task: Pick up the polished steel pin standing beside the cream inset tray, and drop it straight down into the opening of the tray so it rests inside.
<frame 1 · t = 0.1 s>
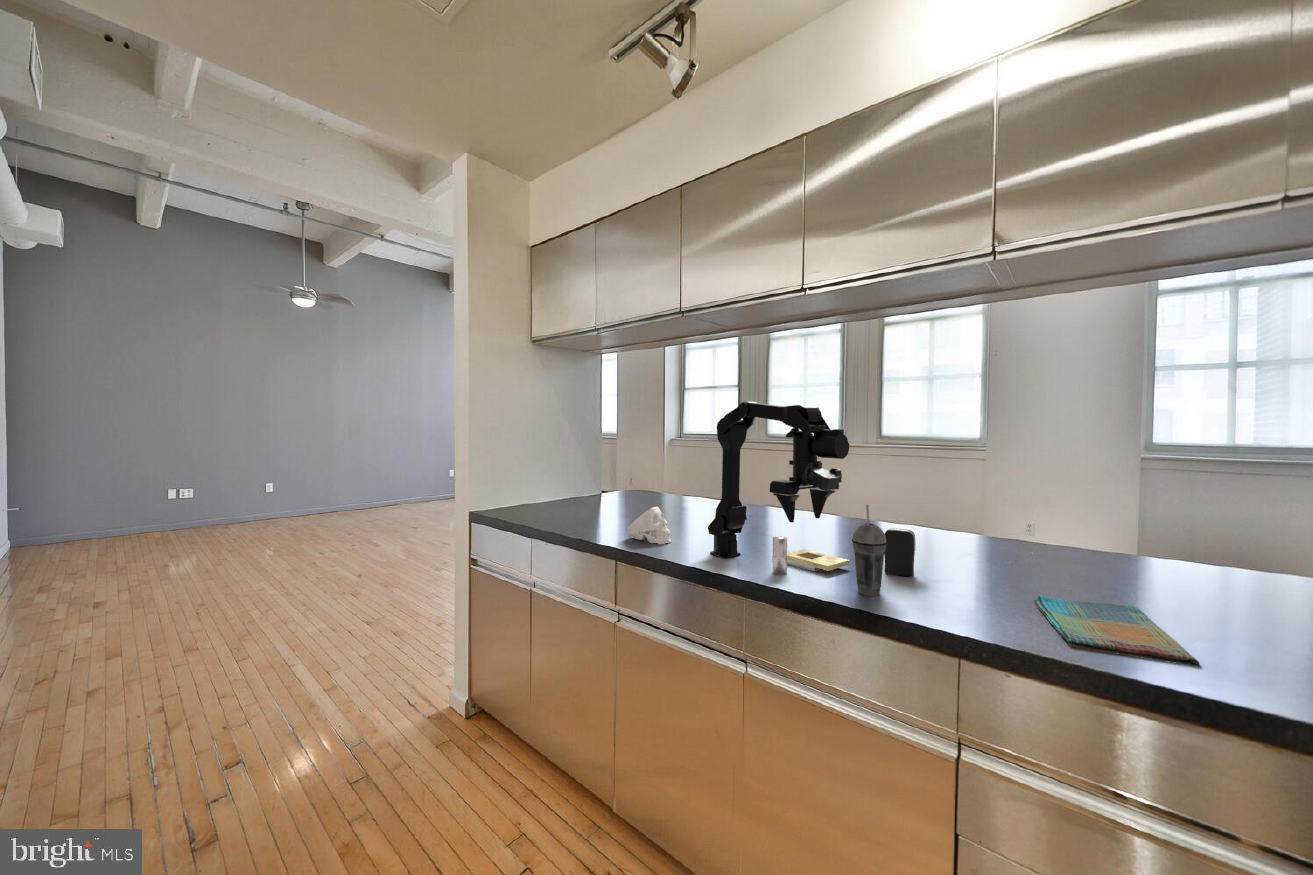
hand: (804, 520, 122), 14 cm above the worktop, tool pointing down, fingers open, 9 cm apart
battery: (899, 574, 126), on the worktop
beverage cup: (868, 593, 112), on the worktop
dish towel: (1104, 633, 92), on the worktop
skull bowl: (650, 541, 164), on the worktop
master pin: (779, 572, 128), on the worktop
cream inset tray: (809, 564, 135), on the worktop
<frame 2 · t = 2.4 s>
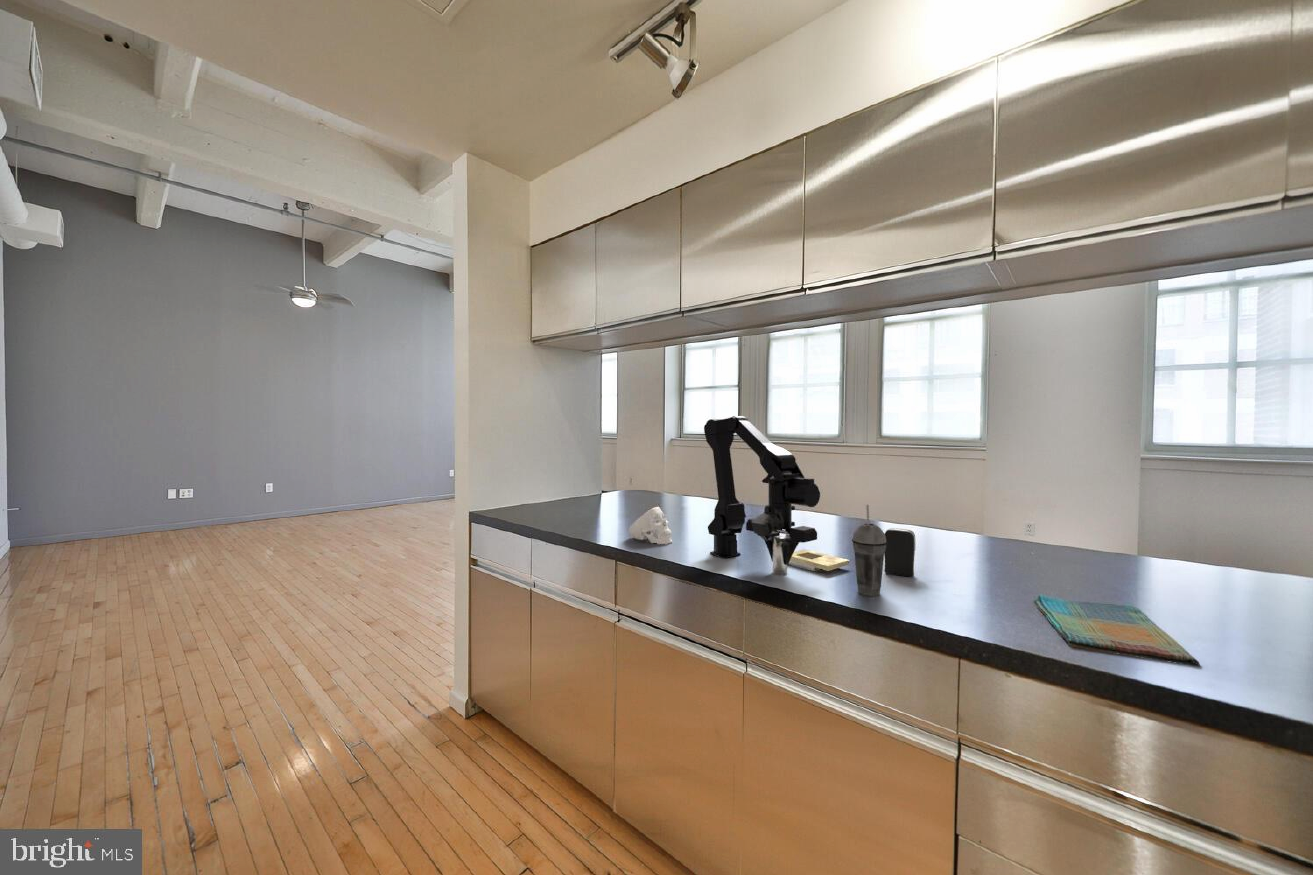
hand: (779, 562, 128), 3 cm above the worktop, tool pointing down, fingers closed on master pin, 4 cm apart
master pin: (779, 572, 128), on the worktop, touching gripper
everything else where it was.
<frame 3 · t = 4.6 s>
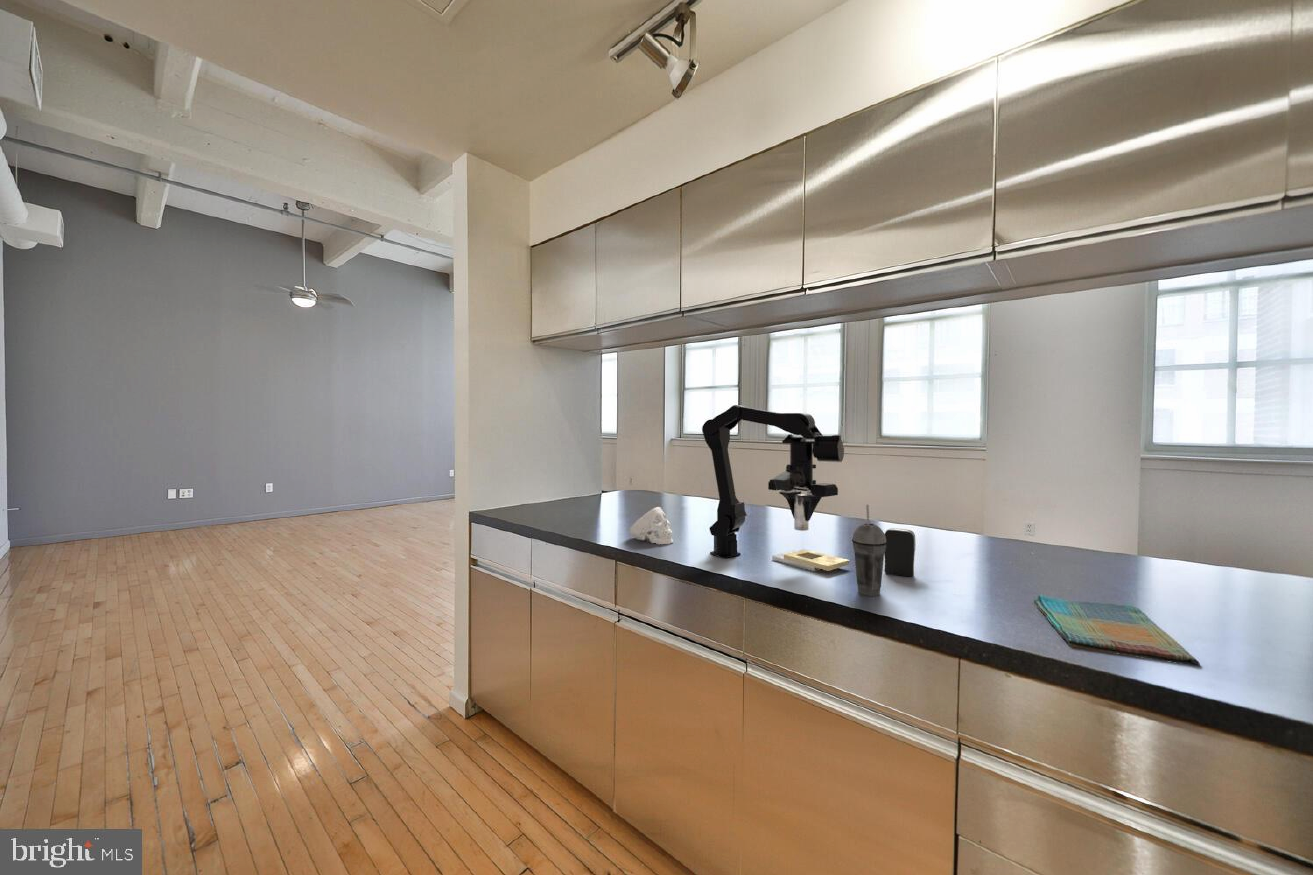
hand: (801, 519, 132), 13 cm above the worktop, tool pointing down, fingers closed on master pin, 4 cm apart
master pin: (801, 529, 132), point 10 cm above the worktop, touching gripper
everything else where it was.
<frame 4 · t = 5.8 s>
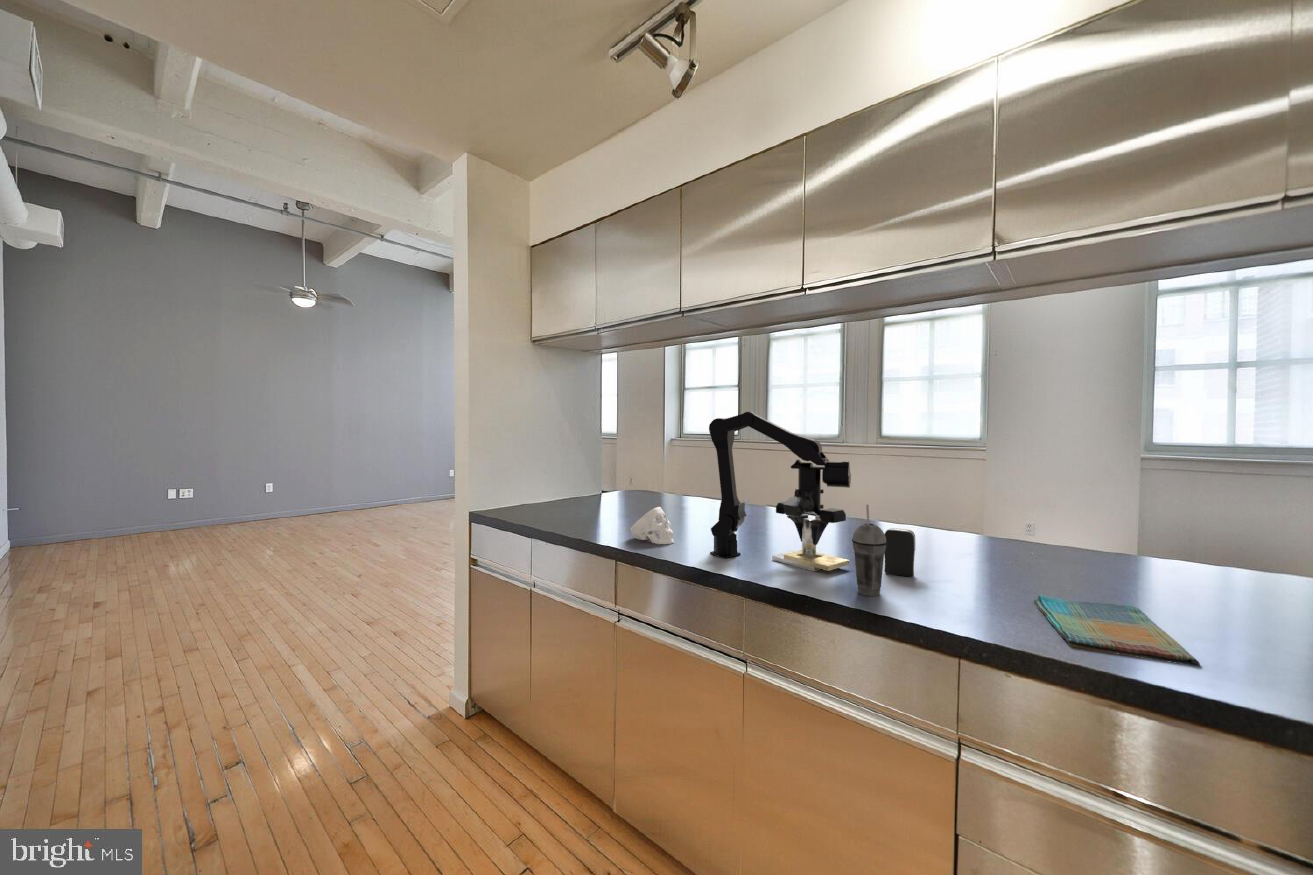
hand: (809, 543, 135), 6 cm above the worktop, tool pointing down, fingers closed on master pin, 4 cm apart
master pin: (809, 552, 135), point 3 cm above the worktop, touching gripper
when the fingers open (3 cm above the worktop, at t = 6.9 s): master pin stays where it is, resting in cream inset tray.
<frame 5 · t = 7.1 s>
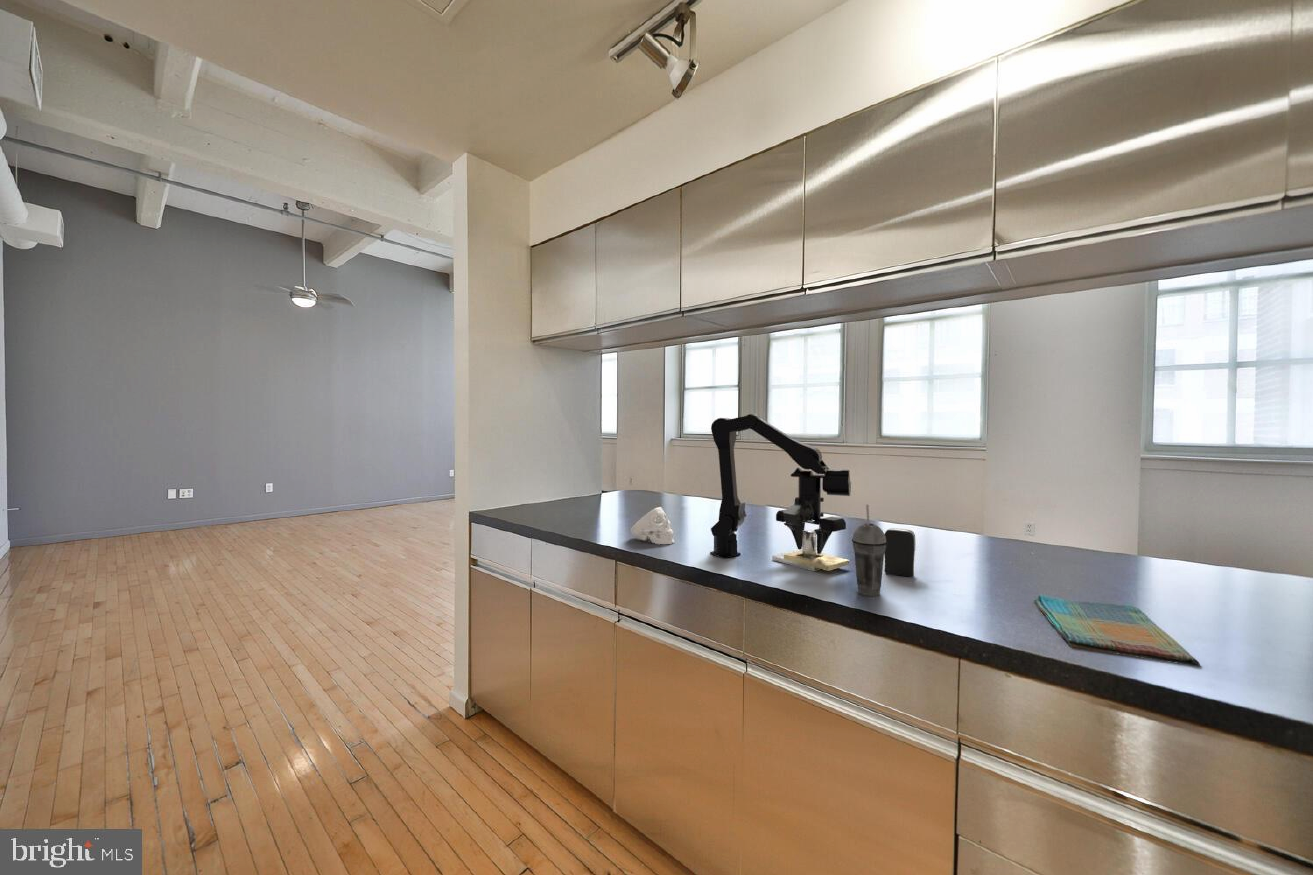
hand: (809, 551, 135), 3 cm above the worktop, tool pointing down, fingers open, 6 cm apart
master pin: (809, 564, 135), resting in cream inset tray
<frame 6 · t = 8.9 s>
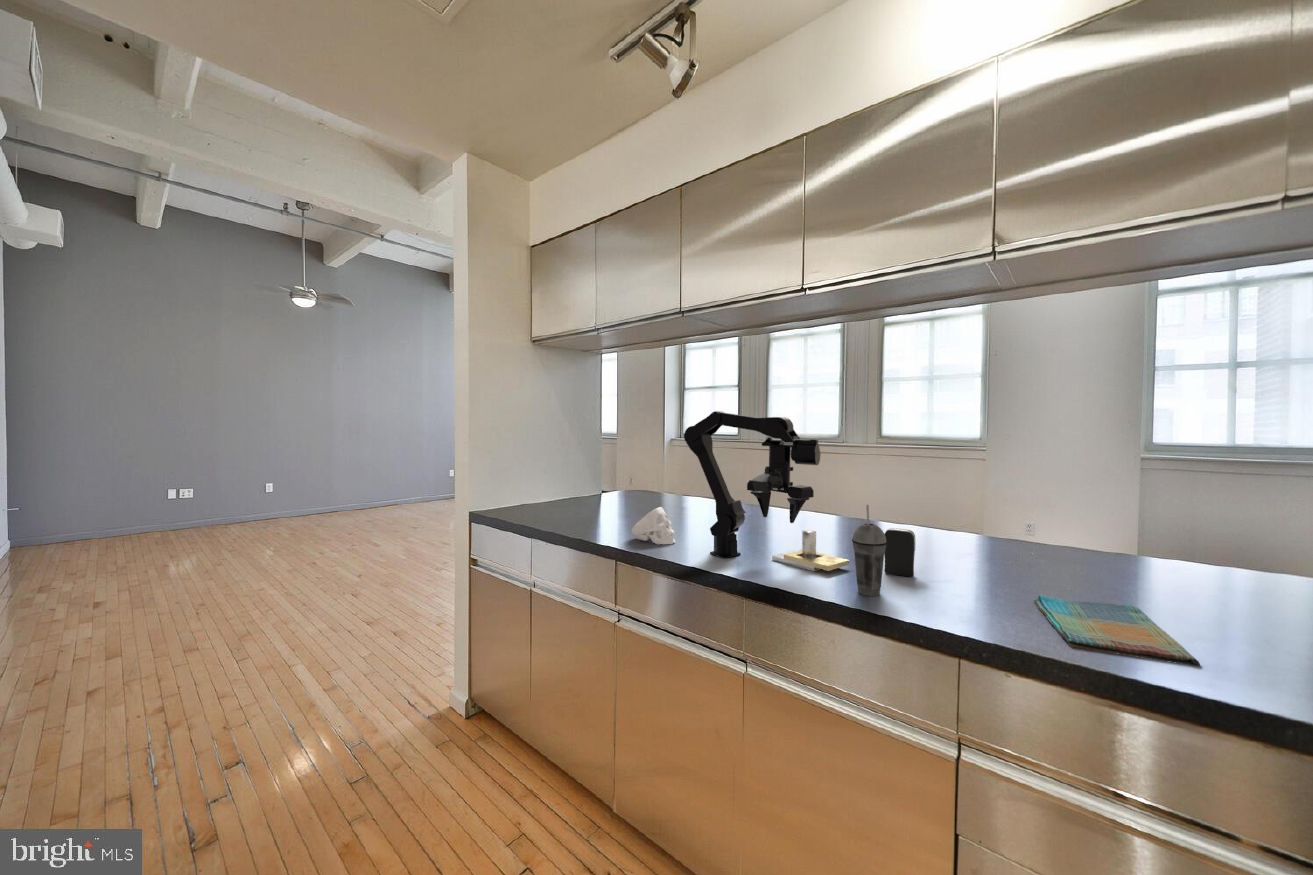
hand: (778, 519, 137), 12 cm above the worktop, tool pointing down, fingers open, 9 cm apart
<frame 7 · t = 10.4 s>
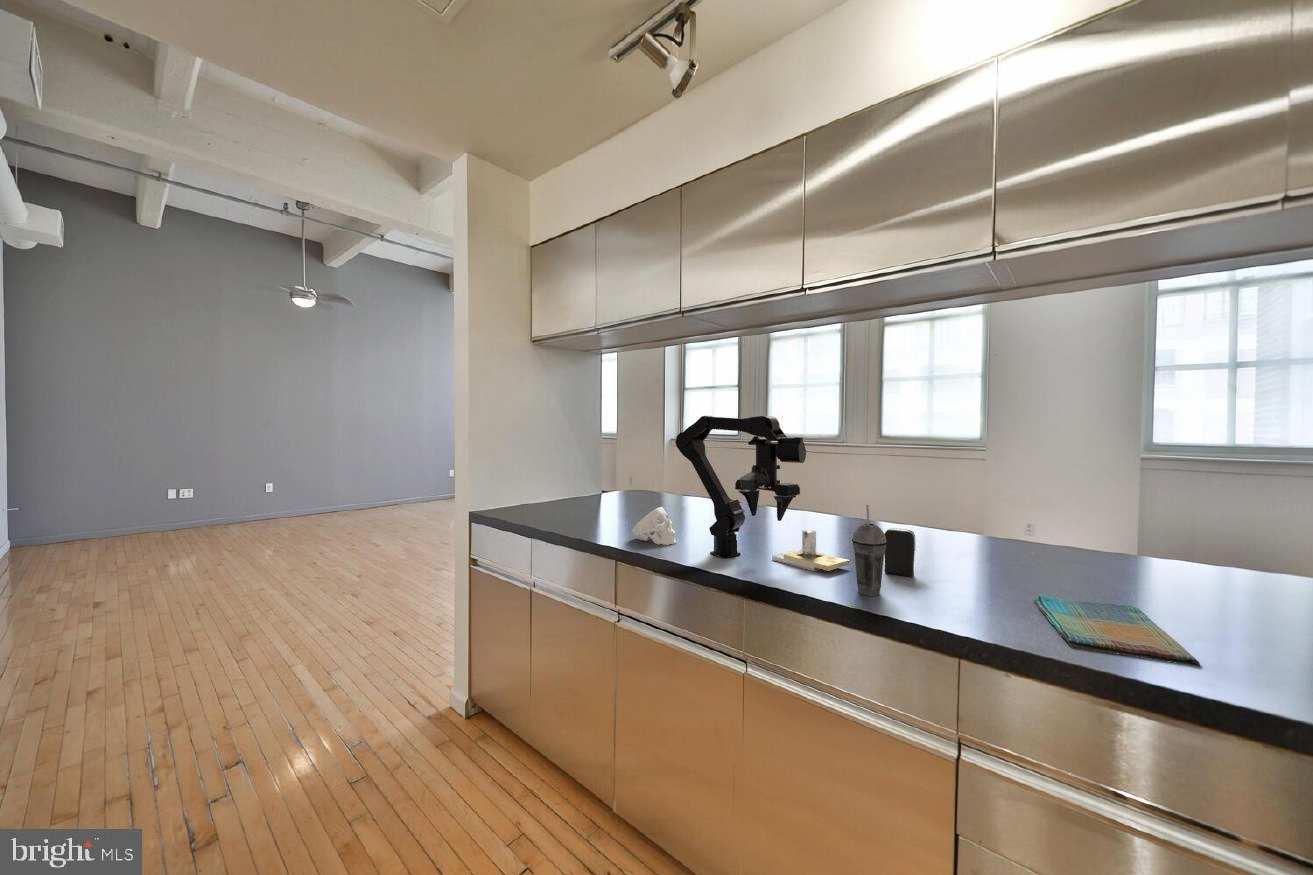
hand: (766, 518, 138), 12 cm above the worktop, tool pointing down, fingers open, 9 cm apart
at the end: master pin 0.0 cm off-centre on the cream inset tray, point 0.0 cm above the cream inset tray's base; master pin tilted 0°; the gripper is holding nothing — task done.
